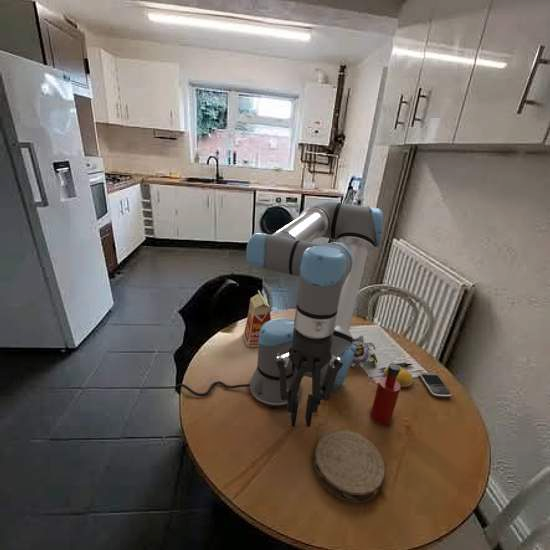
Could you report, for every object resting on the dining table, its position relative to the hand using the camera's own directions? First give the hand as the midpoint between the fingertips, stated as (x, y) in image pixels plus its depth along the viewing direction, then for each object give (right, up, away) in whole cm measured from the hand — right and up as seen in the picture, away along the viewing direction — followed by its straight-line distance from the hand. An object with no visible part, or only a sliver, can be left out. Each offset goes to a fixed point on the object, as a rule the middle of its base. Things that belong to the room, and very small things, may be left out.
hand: (300, 421), depth 67 cm
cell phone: (+47, -5, +35) cm, 59 cm away
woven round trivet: (+12, -14, +7) cm, 20 cm away
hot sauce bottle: (+25, -9, +22) cm, 34 cm away
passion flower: (+24, +1, +45) cm, 51 cm away
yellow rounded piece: (+36, -3, +38) cm, 52 cm away
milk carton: (-12, +7, +52) cm, 54 cm away
